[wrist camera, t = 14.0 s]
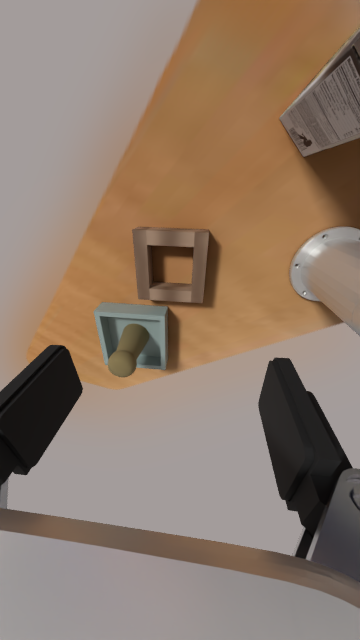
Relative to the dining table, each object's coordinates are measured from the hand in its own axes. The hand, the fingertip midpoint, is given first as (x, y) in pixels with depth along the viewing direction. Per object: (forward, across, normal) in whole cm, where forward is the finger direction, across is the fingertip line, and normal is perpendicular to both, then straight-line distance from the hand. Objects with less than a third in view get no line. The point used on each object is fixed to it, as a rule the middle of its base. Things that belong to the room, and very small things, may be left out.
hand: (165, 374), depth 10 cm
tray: (+31, +13, +19) cm, 38 cm away
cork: (+30, +13, +19) cm, 38 cm away
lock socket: (+31, +4, +3) cm, 31 cm away
